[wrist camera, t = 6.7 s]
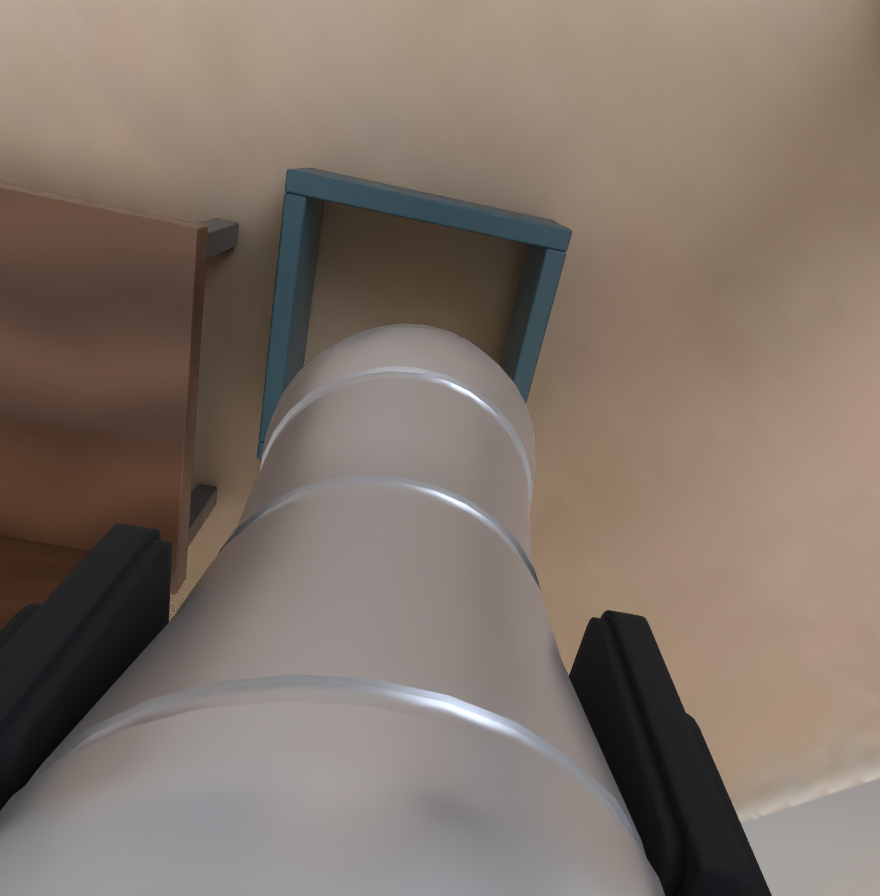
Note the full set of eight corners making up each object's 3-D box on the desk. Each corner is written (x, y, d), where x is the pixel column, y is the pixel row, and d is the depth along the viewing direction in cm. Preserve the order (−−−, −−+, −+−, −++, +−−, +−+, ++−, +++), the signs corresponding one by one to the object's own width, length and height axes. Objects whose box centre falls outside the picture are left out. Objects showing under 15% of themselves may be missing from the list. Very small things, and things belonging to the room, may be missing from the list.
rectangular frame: (309, 167, 28) (286, 168, 24) (553, 220, 29) (572, 230, 25) (279, 421, 33) (256, 459, 28) (492, 460, 33) (499, 503, 29)
